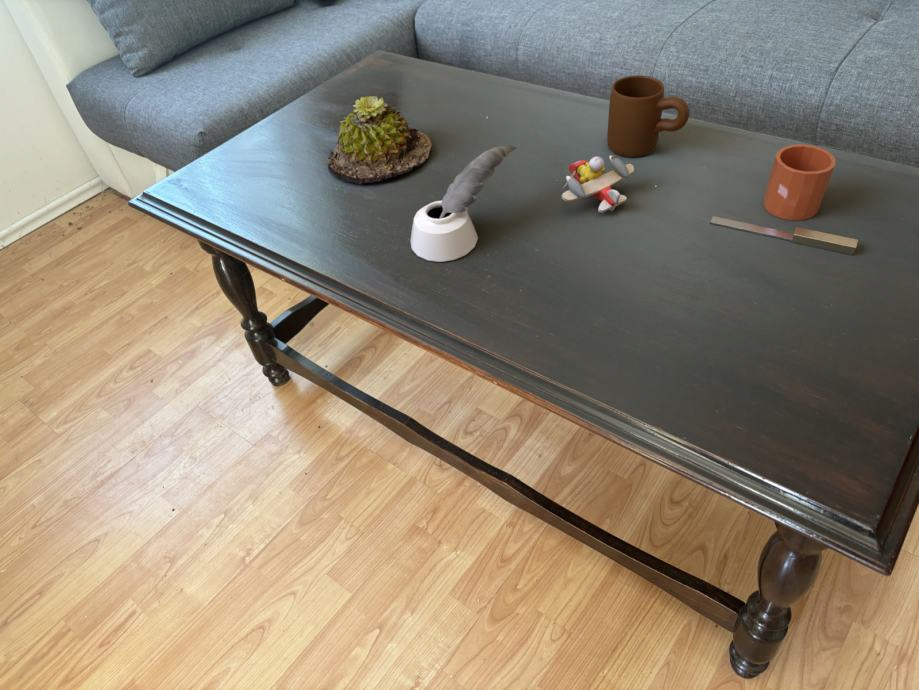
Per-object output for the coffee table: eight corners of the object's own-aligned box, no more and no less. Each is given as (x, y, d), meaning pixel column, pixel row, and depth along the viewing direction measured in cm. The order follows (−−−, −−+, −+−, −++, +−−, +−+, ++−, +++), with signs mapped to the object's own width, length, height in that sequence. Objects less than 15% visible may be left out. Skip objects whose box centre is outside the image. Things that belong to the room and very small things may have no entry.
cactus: (362, 199, 97) (348, 140, 90) (310, 160, 107) (293, 104, 100) (453, 153, 104) (446, 95, 97) (396, 121, 113) (386, 65, 106)
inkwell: (396, 242, 89) (384, 179, 82) (493, 186, 97) (489, 123, 89) (440, 272, 84) (430, 207, 77) (538, 210, 91) (537, 146, 84)
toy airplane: (569, 180, 96) (570, 140, 91) (632, 184, 94) (637, 143, 89) (558, 216, 90) (559, 176, 85) (626, 222, 88) (630, 181, 83)
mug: (693, 149, 98) (704, 88, 92) (668, 172, 95) (678, 111, 88) (622, 128, 104) (628, 70, 98) (596, 150, 101) (600, 91, 94)
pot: (822, 196, 88) (839, 149, 82) (813, 225, 84) (831, 178, 79) (768, 186, 90) (782, 140, 85) (757, 214, 86) (771, 167, 81)
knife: (854, 247, 80) (858, 239, 79) (853, 255, 79) (856, 247, 78) (712, 217, 87) (714, 209, 86) (709, 224, 86) (711, 216, 85)
